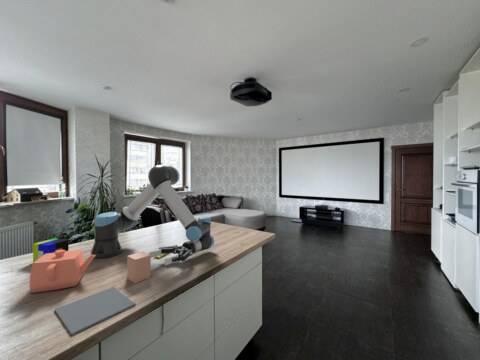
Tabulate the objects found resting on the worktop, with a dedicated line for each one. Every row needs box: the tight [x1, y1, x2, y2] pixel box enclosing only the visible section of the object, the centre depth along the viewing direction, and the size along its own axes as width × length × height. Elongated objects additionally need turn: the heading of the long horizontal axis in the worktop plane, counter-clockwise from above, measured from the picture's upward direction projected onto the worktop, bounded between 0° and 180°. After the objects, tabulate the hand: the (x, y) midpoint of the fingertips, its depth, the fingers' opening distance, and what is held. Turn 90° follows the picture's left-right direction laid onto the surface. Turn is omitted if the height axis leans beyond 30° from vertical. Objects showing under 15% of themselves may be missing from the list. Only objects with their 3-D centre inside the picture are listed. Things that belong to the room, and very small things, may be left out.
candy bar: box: [154, 253, 171, 259], centre depth 124 cm, size 17×4×2 cm, turn 157°
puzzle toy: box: [32, 238, 69, 264], centre depth 111 cm, size 10×10×10 cm
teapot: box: [28, 249, 96, 294], centre depth 88 cm, size 20×22×14 cm
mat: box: [54, 286, 136, 336], centre depth 71 cm, size 18×18×1 cm
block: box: [126, 251, 152, 284], centre depth 93 cm, size 7×7×10 cm
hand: (156, 258), depth 100 cm, fingers open, 13 cm apart
